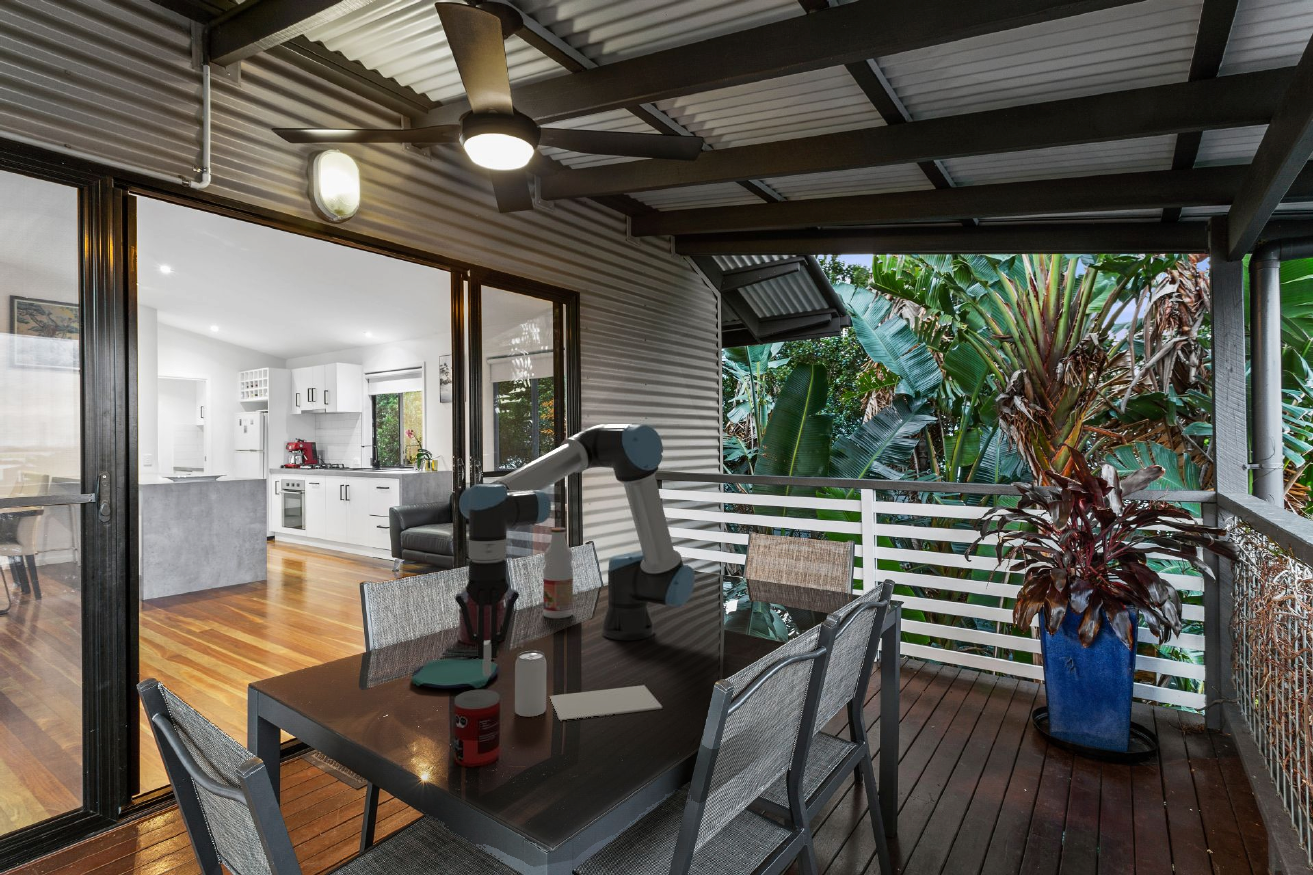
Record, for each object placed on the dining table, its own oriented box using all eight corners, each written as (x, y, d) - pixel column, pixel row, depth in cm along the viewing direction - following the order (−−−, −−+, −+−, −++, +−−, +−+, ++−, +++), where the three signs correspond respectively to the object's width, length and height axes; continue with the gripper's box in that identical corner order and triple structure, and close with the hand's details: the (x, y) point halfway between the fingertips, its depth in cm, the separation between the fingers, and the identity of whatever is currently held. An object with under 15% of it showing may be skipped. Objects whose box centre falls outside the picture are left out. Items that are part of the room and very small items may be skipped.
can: (551, 708, 146) (552, 652, 146) (536, 720, 140) (537, 661, 139) (524, 704, 148) (525, 648, 148) (508, 715, 142) (509, 657, 142)
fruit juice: (569, 619, 215) (570, 530, 215) (540, 618, 216) (540, 530, 216) (574, 611, 225) (575, 526, 225) (546, 610, 225) (547, 526, 225)
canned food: (458, 748, 127) (459, 689, 127) (502, 747, 127) (502, 688, 127) (449, 768, 119) (450, 705, 119) (496, 767, 120) (496, 704, 120)
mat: (549, 697, 151) (549, 695, 151) (644, 686, 158) (644, 685, 158) (559, 721, 139) (559, 719, 139) (662, 708, 146) (662, 706, 146)
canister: (482, 648, 186) (483, 583, 186) (448, 641, 192) (448, 578, 192) (515, 636, 197) (515, 575, 197) (481, 629, 203) (482, 570, 203)
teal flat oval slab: (399, 694, 153) (399, 683, 153) (439, 653, 183) (440, 644, 183) (487, 695, 153) (488, 685, 154) (514, 654, 183) (514, 645, 183)
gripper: (455, 564, 135) (454, 683, 135) (521, 561, 139) (521, 676, 139) (454, 557, 142) (453, 671, 142) (517, 554, 146) (516, 664, 146)
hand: (486, 673), depth 141 cm, fingers closed
